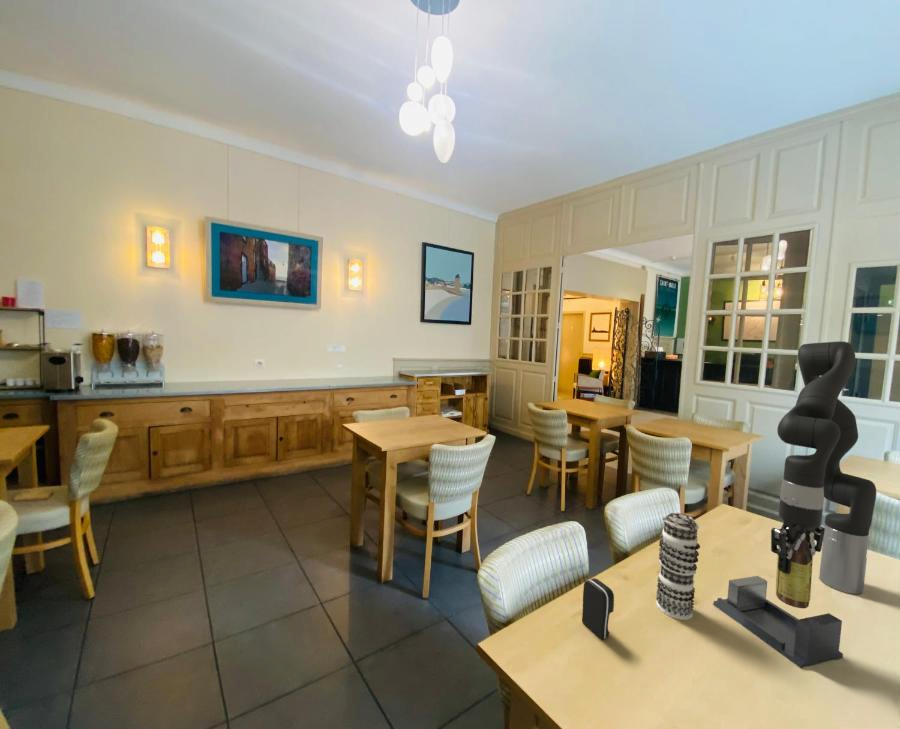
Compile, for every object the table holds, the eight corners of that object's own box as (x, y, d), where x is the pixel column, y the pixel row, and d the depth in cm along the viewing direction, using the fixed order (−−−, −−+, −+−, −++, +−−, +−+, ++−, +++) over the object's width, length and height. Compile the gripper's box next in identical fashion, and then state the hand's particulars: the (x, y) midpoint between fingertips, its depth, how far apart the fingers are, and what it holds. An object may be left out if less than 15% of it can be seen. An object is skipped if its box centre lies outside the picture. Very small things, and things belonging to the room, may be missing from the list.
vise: (750, 598, 109) (752, 566, 108) (842, 657, 89) (846, 619, 88) (713, 604, 106) (716, 572, 105) (800, 668, 85) (804, 628, 85)
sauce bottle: (816, 612, 90) (824, 528, 88) (784, 607, 91) (792, 524, 90) (797, 594, 96) (804, 515, 95) (768, 590, 97) (775, 512, 96)
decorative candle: (691, 603, 106) (699, 513, 104) (697, 625, 97) (705, 528, 96) (653, 593, 109) (660, 506, 108) (655, 613, 101) (662, 519, 100)
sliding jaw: (755, 600, 106) (757, 575, 106) (765, 606, 104) (767, 581, 103) (726, 605, 103) (729, 580, 103) (736, 612, 101) (738, 586, 101)
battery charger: (614, 636, 93) (617, 590, 92) (602, 641, 91) (605, 594, 90) (591, 617, 99) (594, 573, 98) (580, 621, 97) (583, 577, 96)
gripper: (805, 493, 97) (798, 558, 98) (761, 497, 94) (755, 564, 95) (842, 505, 90) (834, 575, 91) (796, 510, 86) (789, 583, 87)
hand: (794, 569), depth 93 cm, fingers closed on sauce bottle, 6 cm apart
